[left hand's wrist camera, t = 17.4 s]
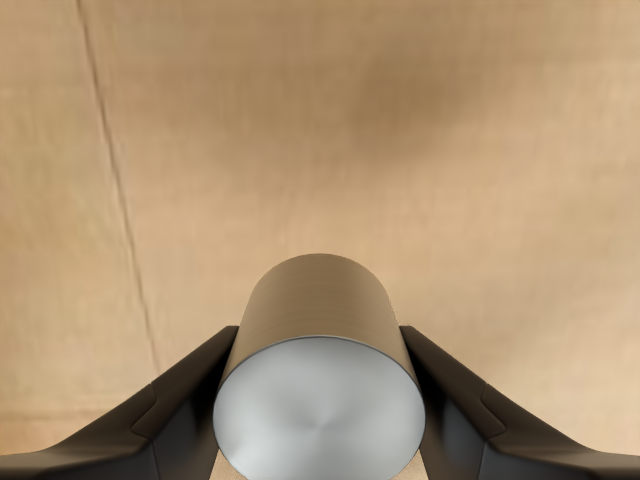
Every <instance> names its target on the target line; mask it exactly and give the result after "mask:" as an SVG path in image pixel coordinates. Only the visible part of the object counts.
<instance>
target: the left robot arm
mask: <svg viewBox="0 0 640 480" xmlns="http://www.w3.org/2000/svg"><path fill="white" fill-rule="evenodd" d="M239 327H240V326H226V327H225V328H224V329H222V330H221V331H219V332H218V333H217V334H215V335H214V336H213V337H211V338H210V339H209V340H207V341H206V342H205V343H203V344H202V345H201V346H199V347H198V348H197V349H195V350H194V351H193V352H191V353H190V354H189V355H187V356H186V357H185V358H183V359H182V360H181V361H179V362H178V363H176V364H175V365H174V366H172V367H171V368H170V369H168V370H167V371H166V372H164V373H163V374H162V375H160V376H159V377H158V378H156V379H155V380H154V381H152V382H151V384H148V385H147V386H145V387H144V388H143V389H141V390H140V391H139V392H137V393H136V394H134V395H133V396H132V397H130V398H129V399H127V400H126V401H125V402H123V403H121V404H120V405H118V406H117V407H115V408H114V409H112V410H111V411H109V412H108V413H106V414H105V415H103V416H101V417H100V418H98V419H97V420H95V421H93V422H92V423H90V424H89V425H87V426H85V427H84V428H82V429H81V430H79V431H78V432H76V433H74V434H73V435H71V436H70V437H68V438H66V439H65V440H63V441H61V442H60V443H58V444H56V445H54V446H51V447H49V448H46V449H44V450H40V451H37V452H31V453H22V454H12V455H2V456H0V480H209V479H210V475H211V472H212V469H213V466H214V463H215V459H216V456H217V453H218V450H219V447H218V444H217V442H216V439H215V437H214V432H213V427H212V407H213V401H214V398H215V395H216V392H217V389H218V386H219V383H220V381H221V378H222V375H223V372H224V369H225V366H226V364H227V361H228V358H229V355H230V352H231V350H232V347H233V344H234V341H235V338H236V335H237V333H238V330H239ZM399 329H400V332H401V334H402V337H403V340H404V343H405V346H406V349H407V351H408V354H409V357H410V360H411V363H412V366H413V368H414V371H415V374H416V377H417V380H418V383H419V386H420V388H421V391H422V394H423V398H424V401H425V405H426V414H427V417H426V428H425V433H424V437H423V440H422V442H421V445H420V447H419V450H420V453H421V456H422V460H423V463H424V466H425V469H426V473H427V476H428V479H429V480H640V456H635V455H625V454H615V453H606V452H600V451H596V450H593V449H590V448H588V447H585V446H583V445H581V444H579V443H577V442H576V441H574V440H572V439H571V438H569V437H567V436H566V435H564V434H563V433H561V432H560V431H558V430H556V429H555V428H553V427H552V426H550V425H549V424H547V423H545V422H544V421H542V420H541V419H539V418H537V417H536V416H534V415H533V414H531V413H530V412H528V411H527V410H525V409H524V408H522V407H521V406H519V405H517V404H516V403H514V402H513V401H511V400H510V399H509V398H507V397H506V396H505V395H503V394H502V393H500V392H499V391H498V390H496V389H495V388H494V387H492V386H491V385H490V384H487V383H486V382H485V381H484V380H483V379H481V378H480V377H479V376H477V375H476V374H475V373H473V372H472V371H471V370H469V369H468V368H467V367H465V366H464V365H463V364H461V363H460V362H459V361H457V360H456V359H455V358H453V357H452V356H451V355H449V354H448V353H447V352H445V351H444V350H443V349H441V348H440V347H439V346H437V345H436V344H435V343H433V342H432V341H431V340H429V339H428V338H427V337H425V336H424V335H423V334H421V333H420V332H419V331H417V330H416V329H415V328H413V327H412V326H399Z"/></svg>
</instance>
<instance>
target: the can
mask: <svg viewBox="0 0 640 480" xmlns="http://www.w3.org/2000/svg"><path fill="white" fill-rule="evenodd" d="M426 417H427V414H426V405H425V401H424V398H423V394H422V391H421V388H420V386H419V383H418V380H417V377H416V374H415V371H414V368H413V366H412V363H411V360H410V357H409V354H408V351H407V349H406V346H405V343H404V340H403V337H402V334H401V332H400V329H399V326H398V323H397V320H396V317H395V314H394V312H393V309H392V306H391V303H390V300H389V297H388V295H387V293H386V291H385V289H384V287H383V286H382V284H381V283H380V281H379V280H378V279H377V278H376V277H375V276H374V275H373V274H372V273H371V272H370V271H369V270H368V269H366V268H365V267H363V266H362V265H360V264H359V263H357V262H354V261H352V260H350V259H347V258H344V257H341V256H337V255H332V254H307V255H301V256H297V257H294V258H291V259H288V260H286V261H284V262H282V263H280V264H278V265H277V266H275V267H274V268H272V269H271V270H270V271H269V272H267V273H266V274H265V275H264V276H263V277H262V278H261V279H260V281H259V282H258V283H257V285H256V286H255V288H254V290H253V292H252V294H251V296H250V299H249V302H248V304H247V307H246V310H245V313H244V316H243V319H242V321H241V324H240V327H239V330H238V333H237V335H236V338H235V341H234V344H233V347H232V350H231V352H230V355H229V358H228V361H227V364H226V366H225V369H224V372H223V375H222V378H221V381H220V383H219V386H218V389H217V392H216V395H215V398H214V401H213V407H212V427H213V432H214V437H215V439H216V442H217V444H218V447H219V449H220V450H221V452H222V454H223V456H224V457H225V458H226V459H227V461H228V462H229V463H230V465H231V466H232V467H233V468H234V469H235V470H237V471H238V472H239V473H240V474H241V475H242V476H244V477H245V478H246V479H248V480H390V479H392V478H393V477H394V476H396V475H397V474H398V473H399V472H400V471H402V470H403V469H404V468H405V467H406V466H407V465H408V463H409V462H410V461H411V460H412V458H413V457H414V456H415V454H416V452H417V451H418V449H419V447H420V445H421V442H422V440H423V437H424V433H425V428H426Z"/></svg>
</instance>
